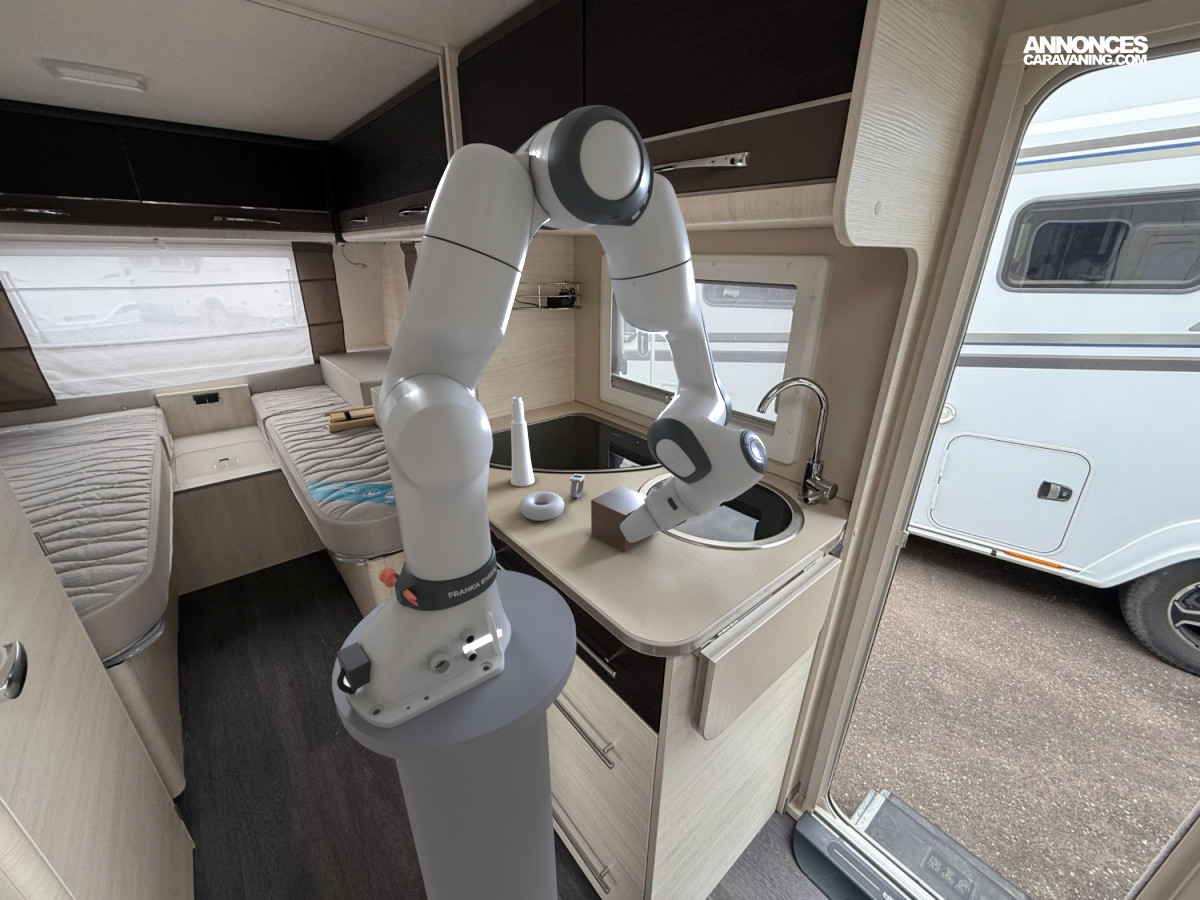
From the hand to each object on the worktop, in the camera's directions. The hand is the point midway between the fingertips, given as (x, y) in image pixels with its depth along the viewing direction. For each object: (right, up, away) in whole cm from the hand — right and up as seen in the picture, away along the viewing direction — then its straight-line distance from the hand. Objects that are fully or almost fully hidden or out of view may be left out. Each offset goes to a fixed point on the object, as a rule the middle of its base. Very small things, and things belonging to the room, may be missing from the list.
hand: (642, 524), depth 90 cm
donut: (-21, 0, +14) cm, 25 cm away
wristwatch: (-14, +3, +21) cm, 25 cm away
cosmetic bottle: (-28, +6, +29) cm, 41 cm away
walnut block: (-4, -3, +5) cm, 7 cm away
